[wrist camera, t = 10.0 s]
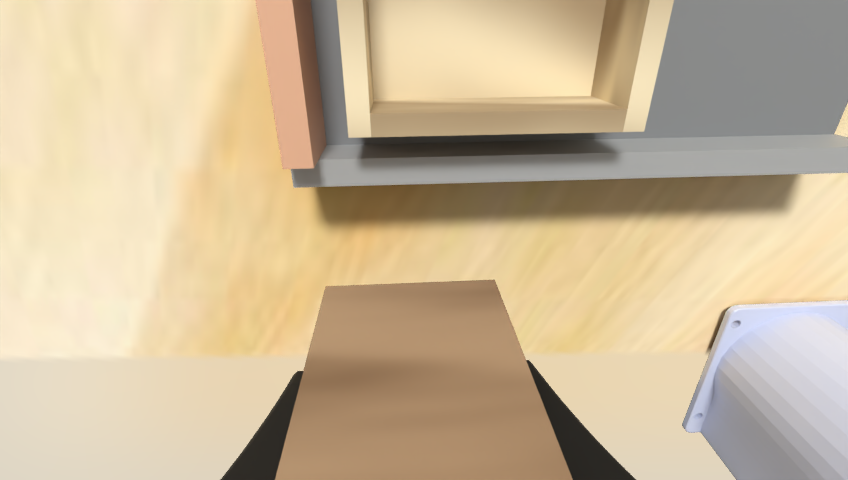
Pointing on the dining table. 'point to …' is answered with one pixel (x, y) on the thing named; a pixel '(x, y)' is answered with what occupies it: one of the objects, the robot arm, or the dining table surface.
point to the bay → (593, 152)
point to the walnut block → (418, 390)
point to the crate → (499, 65)
